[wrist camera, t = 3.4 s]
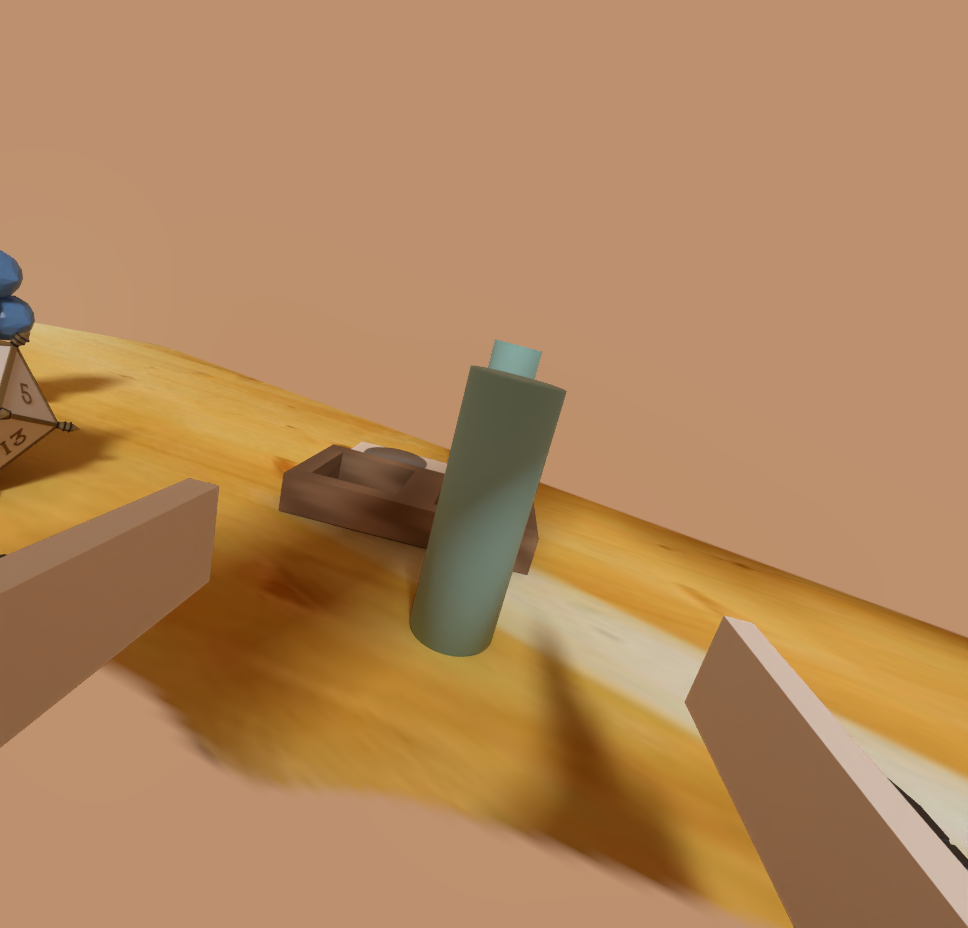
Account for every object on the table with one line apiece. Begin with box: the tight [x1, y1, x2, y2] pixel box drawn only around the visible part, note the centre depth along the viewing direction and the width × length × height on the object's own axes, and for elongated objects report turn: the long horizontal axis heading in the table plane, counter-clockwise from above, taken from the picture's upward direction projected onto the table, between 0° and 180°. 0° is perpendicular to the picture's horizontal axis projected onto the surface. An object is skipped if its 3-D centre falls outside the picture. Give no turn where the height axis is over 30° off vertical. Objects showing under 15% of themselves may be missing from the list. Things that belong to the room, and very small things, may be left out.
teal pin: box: [410, 366, 566, 657], centre depth 20 cm, size 4×4×12 cm
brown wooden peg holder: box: [279, 445, 539, 575], centre depth 32 cm, size 16×8×2 cm, turn 85°
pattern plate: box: [352, 442, 447, 474], centre depth 40 cm, size 16×8×1 cm, turn 85°
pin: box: [488, 340, 542, 379], centre depth 39 cm, size 4×4×12 cm
